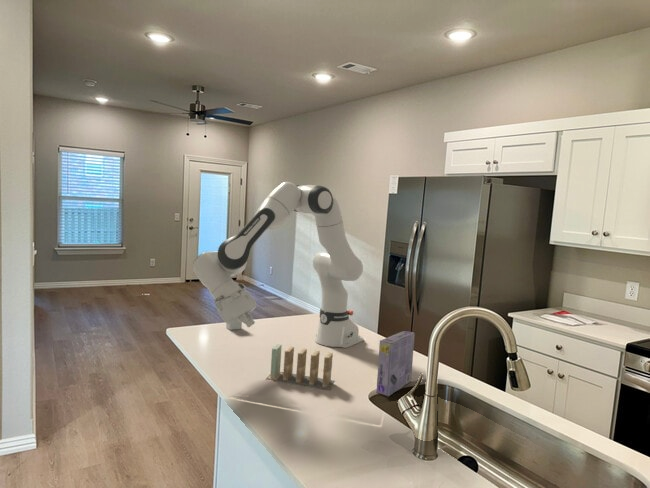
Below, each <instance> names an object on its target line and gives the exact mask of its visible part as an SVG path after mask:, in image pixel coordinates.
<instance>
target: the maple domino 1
mask: <svg viewBox="0 0 650 488" xmlns="http://www.w3.org/2000/svg"><path fill="white" fill-rule="evenodd" d="M294 352H295V347H294V346H289V347H287V348H286V349H285V351H284V359H283V361H284V362H283V372H284V373H283V380H284V381H288V380H289V379H290V378H291V376H292V374H293V373H294V372H293V371H294V370H293V369H294V368H293V367H294V356H295V355H294Z"/></svg>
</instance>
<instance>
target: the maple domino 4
mask: <svg viewBox="0 0 650 488" xmlns="http://www.w3.org/2000/svg"><path fill="white" fill-rule="evenodd" d="M332 367H333V352H327V353H326V355H325V356H324V360H323V373H322V379H323V385H322V387H325V388H327V387H328V386H329V384H330V382H331V380H332Z"/></svg>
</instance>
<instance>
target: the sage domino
mask: <svg viewBox="0 0 650 488" xmlns="http://www.w3.org/2000/svg"><path fill="white" fill-rule="evenodd" d="M282 346H283V345H282V344H279V343H277V344H276V345H274V346H273V347H272V349H271V361H270V362H271V363H270V374H271V375H270V374H269V375H270V378H276V377H277V376H278V375H279V373H280V372H281V363H282V361H281V359H282Z"/></svg>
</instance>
